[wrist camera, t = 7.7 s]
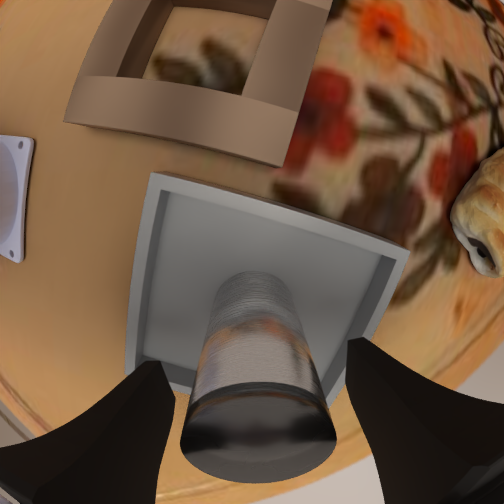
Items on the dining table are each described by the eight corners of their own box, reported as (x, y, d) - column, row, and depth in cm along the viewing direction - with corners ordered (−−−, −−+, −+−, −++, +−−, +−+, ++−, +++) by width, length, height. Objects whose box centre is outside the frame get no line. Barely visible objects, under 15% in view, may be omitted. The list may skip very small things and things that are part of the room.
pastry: (494, 117, 11) (532, 115, 8) (528, 187, 13) (561, 195, 9) (436, 215, 13) (479, 231, 10) (477, 280, 15) (511, 302, 11)
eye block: (89, 126, 12) (63, 121, 9) (154, -21, 9) (141, -42, 7) (276, 168, 12) (282, 167, 10) (325, 6, 10) (337, -18, 7)
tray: (135, 354, 15) (124, 373, 13) (165, 171, 12) (151, 171, 11) (316, 395, 16) (322, 417, 14) (392, 240, 13) (410, 251, 12)
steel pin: (257, 353, 15) (263, 492, 6) (198, 311, 14) (153, 449, 6) (309, 303, 14) (365, 437, 6) (249, 253, 13) (249, 378, 5)
